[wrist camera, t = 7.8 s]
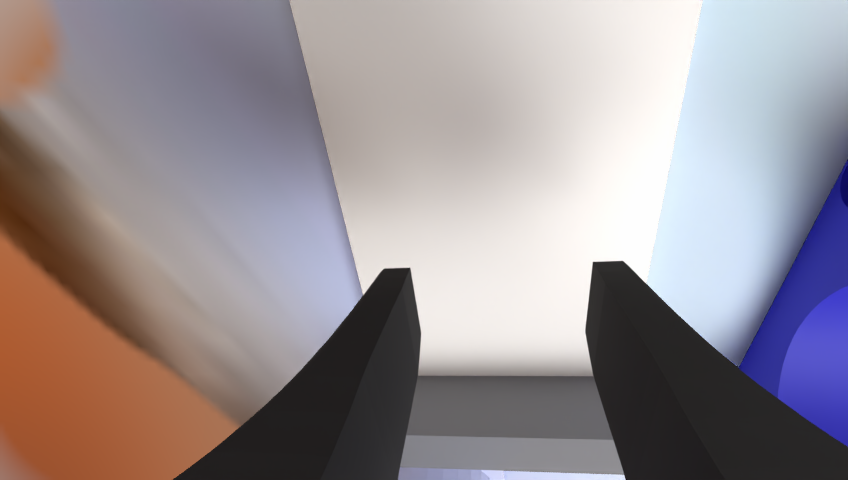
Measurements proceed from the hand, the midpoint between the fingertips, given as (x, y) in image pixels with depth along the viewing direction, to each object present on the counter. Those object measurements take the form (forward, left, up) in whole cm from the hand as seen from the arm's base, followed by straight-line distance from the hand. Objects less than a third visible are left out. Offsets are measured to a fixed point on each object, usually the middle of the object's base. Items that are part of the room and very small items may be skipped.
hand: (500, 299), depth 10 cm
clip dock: (0, 0, -4) cm, 4 cm away
